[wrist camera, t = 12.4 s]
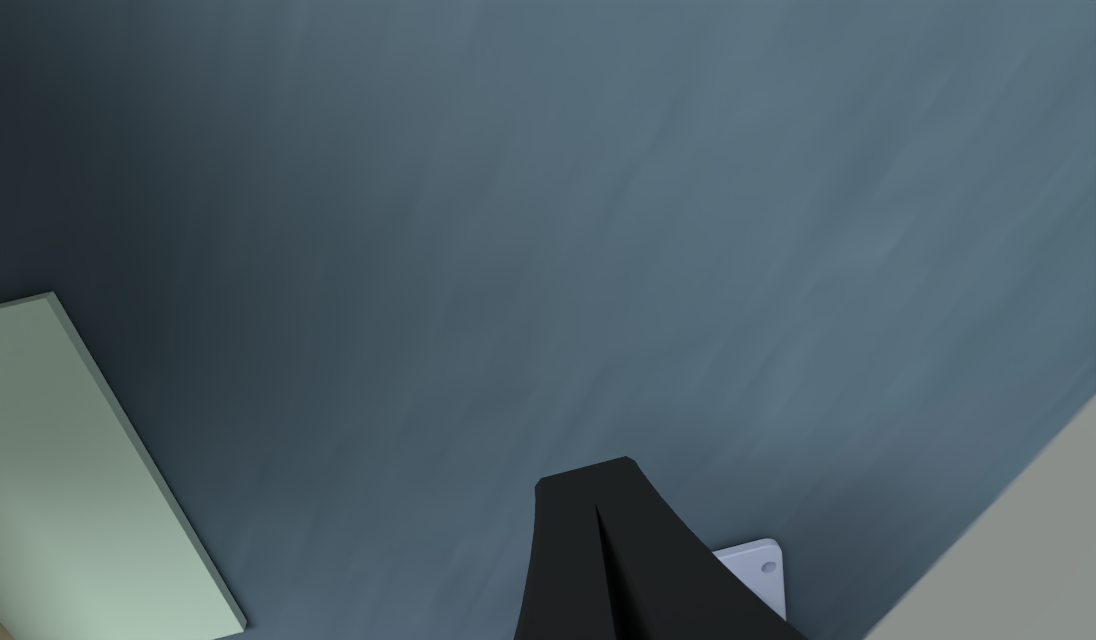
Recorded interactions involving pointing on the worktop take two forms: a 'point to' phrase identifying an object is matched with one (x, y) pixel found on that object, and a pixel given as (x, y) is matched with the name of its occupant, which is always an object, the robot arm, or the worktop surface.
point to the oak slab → (5, 633)
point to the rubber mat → (88, 504)
